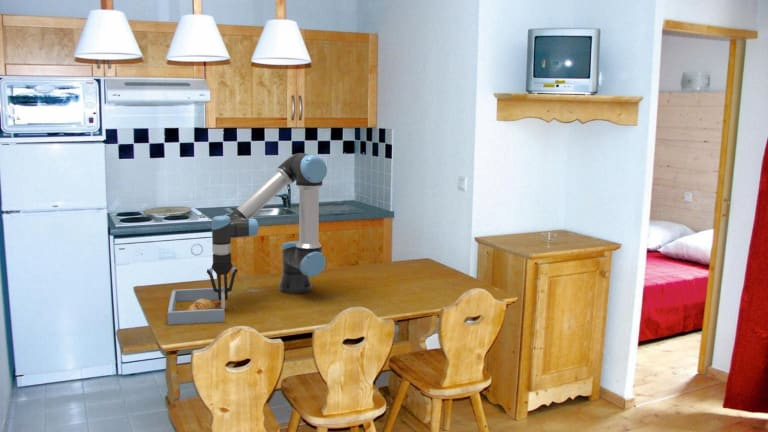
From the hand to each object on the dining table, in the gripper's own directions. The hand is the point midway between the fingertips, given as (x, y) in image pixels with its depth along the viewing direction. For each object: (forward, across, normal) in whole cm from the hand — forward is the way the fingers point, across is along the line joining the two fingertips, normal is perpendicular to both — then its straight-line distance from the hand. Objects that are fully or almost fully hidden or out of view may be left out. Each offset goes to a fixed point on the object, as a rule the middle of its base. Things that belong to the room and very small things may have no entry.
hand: (223, 307), depth 298 cm
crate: (+1, +11, -1) cm, 11 cm away
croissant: (+2, +9, +4) cm, 10 cm away
